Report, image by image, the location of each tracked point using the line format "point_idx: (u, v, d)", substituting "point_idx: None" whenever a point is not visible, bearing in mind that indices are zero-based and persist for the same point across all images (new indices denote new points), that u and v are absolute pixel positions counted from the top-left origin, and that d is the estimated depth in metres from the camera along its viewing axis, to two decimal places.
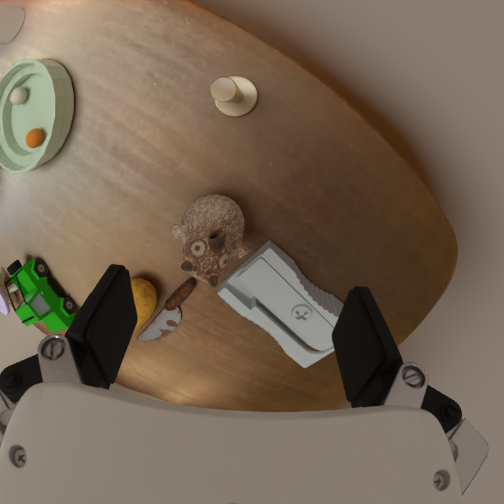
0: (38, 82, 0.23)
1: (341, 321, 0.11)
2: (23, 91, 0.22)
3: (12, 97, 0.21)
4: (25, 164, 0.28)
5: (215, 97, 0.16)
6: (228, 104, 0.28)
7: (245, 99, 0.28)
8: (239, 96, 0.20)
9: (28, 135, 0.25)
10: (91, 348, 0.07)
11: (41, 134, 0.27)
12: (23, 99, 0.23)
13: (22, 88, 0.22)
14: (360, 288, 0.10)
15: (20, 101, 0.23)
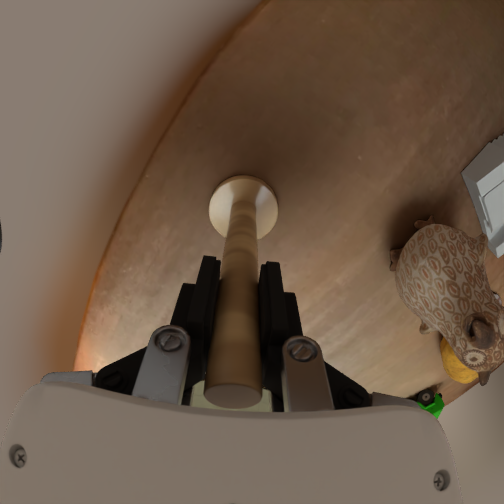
0: None
1: None
2: None
3: None
4: None
5: (251, 405, 0.08)
6: (257, 222, 0.20)
7: (249, 197, 0.19)
8: (246, 272, 0.12)
9: None
10: (206, 336, 0.08)
11: None
12: None
13: None
14: (269, 263, 0.11)
15: None
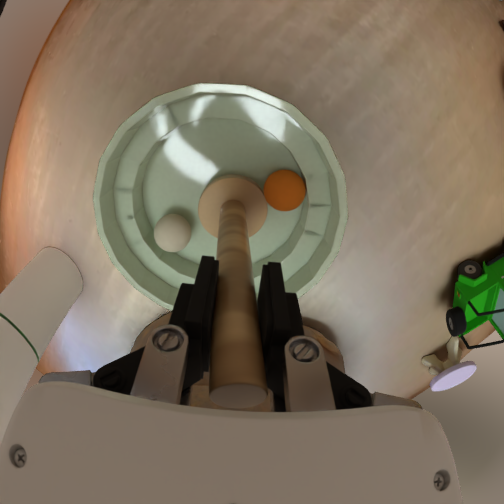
0: (160, 185, 0.20)
1: (258, 297, 0.12)
2: (166, 216, 0.20)
3: (168, 242, 0.19)
4: (323, 226, 0.20)
5: (257, 403, 0.08)
6: (247, 220, 0.20)
7: (238, 196, 0.19)
8: (241, 271, 0.12)
9: (284, 195, 0.18)
10: (204, 336, 0.08)
11: (279, 170, 0.18)
12: (183, 219, 0.20)
13: (159, 220, 0.20)
14: (271, 263, 0.11)
15: (184, 223, 0.20)
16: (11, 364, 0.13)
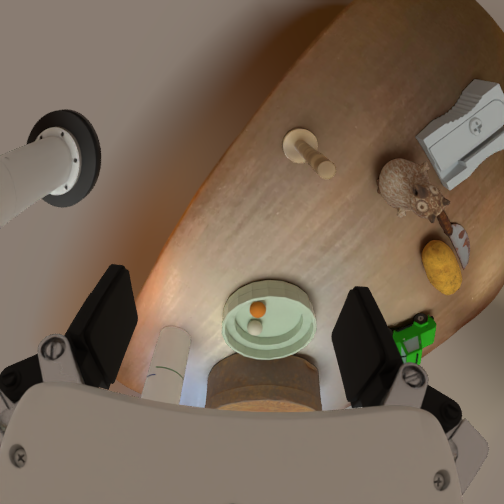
0: (243, 310, 0.51)
1: (341, 321, 0.11)
2: (254, 321, 0.51)
3: (260, 330, 0.50)
4: (308, 327, 0.50)
5: (324, 177, 0.24)
6: (298, 154, 0.36)
7: (309, 145, 0.35)
8: None
9: None
10: (91, 348, 0.07)
11: None
12: None
13: (252, 324, 0.50)
14: (360, 288, 0.10)
15: (260, 323, 0.52)
16: (178, 389, 0.44)
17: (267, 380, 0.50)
